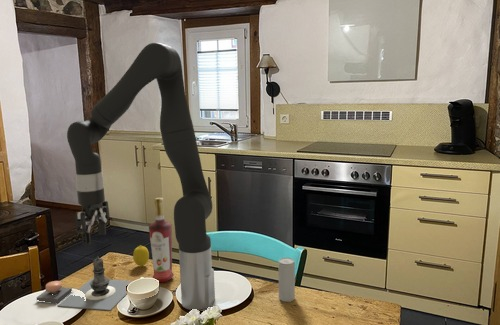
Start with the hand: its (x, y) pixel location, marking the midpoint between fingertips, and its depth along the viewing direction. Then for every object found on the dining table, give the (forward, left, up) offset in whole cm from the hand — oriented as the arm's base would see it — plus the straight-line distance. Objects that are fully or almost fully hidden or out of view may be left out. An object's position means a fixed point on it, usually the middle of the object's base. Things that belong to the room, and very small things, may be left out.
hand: (95, 239), depth 121 cm
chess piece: (0, 0, -18) cm, 18 cm away
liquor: (-16, -12, -18) cm, 27 cm away
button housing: (+13, +4, -18) cm, 22 cm away
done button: (+13, +4, -17) cm, 21 cm away
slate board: (0, 0, -18) cm, 18 cm away
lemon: (-4, -21, -18) cm, 28 cm away
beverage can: (-58, -5, -18) cm, 61 cm away
